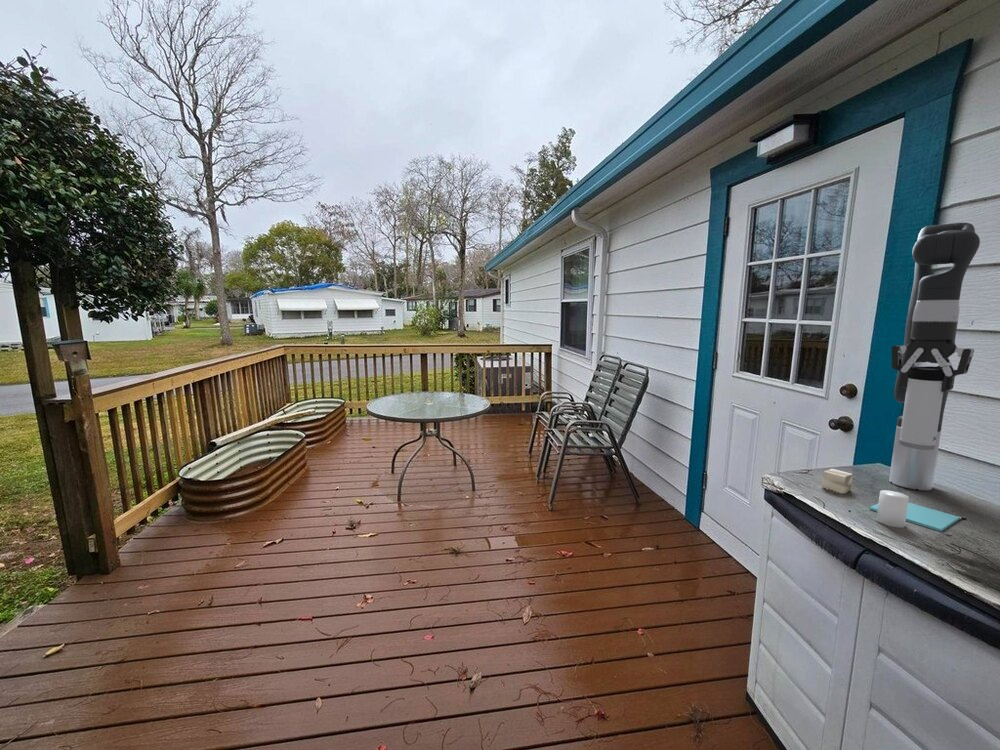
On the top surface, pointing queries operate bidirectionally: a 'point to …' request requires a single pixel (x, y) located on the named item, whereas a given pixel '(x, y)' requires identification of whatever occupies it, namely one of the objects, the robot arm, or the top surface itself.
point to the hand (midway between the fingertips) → (925, 389)
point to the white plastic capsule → (892, 508)
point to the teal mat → (927, 517)
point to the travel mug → (922, 408)
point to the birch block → (837, 480)
